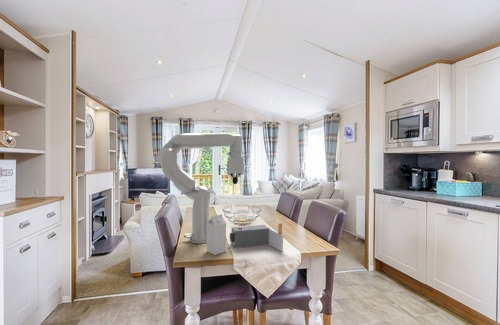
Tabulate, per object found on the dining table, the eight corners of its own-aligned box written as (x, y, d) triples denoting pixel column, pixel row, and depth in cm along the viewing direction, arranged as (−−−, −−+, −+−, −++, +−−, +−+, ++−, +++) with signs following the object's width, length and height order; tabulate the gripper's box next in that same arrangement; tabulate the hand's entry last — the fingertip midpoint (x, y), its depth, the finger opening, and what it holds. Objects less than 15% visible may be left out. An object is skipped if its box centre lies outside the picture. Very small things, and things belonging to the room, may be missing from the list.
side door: (283, 250, 140) (283, 223, 140) (280, 251, 139) (280, 224, 139) (271, 243, 151) (271, 218, 151) (268, 244, 150) (268, 219, 150)
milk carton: (206, 251, 139) (206, 215, 138) (217, 248, 144) (217, 213, 143) (214, 255, 133) (215, 217, 133) (225, 251, 138) (226, 215, 138)
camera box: (232, 247, 144) (232, 229, 144) (228, 243, 152) (228, 226, 152) (269, 244, 151) (269, 227, 151) (263, 239, 159) (264, 223, 159)
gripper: (225, 154, 161) (224, 184, 162) (248, 154, 166) (248, 184, 167) (222, 154, 168) (222, 183, 169) (245, 154, 173) (244, 183, 174)
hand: (235, 183), depth 168 cm, fingers closed
